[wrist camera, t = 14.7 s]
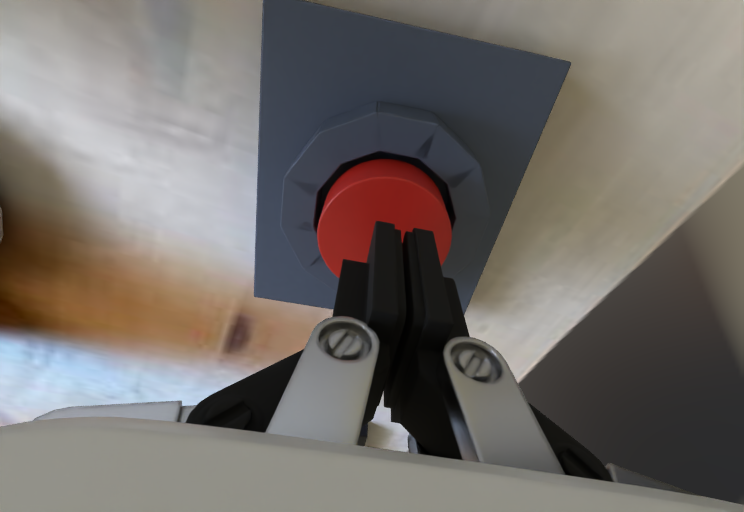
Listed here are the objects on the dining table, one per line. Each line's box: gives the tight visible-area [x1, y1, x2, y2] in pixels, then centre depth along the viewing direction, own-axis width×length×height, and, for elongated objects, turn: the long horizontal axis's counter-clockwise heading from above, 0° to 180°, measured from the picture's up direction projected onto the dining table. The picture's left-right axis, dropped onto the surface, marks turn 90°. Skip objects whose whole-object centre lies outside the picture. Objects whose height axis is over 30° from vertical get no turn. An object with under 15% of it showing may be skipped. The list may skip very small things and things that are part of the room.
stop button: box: [317, 159, 452, 278], centre depth 13 cm, size 4×4×2 cm
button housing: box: [254, 0, 571, 314], centre depth 15 cm, size 12×10×4 cm
